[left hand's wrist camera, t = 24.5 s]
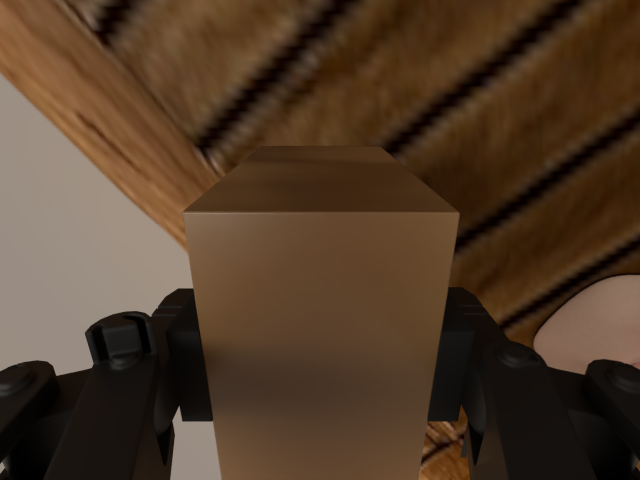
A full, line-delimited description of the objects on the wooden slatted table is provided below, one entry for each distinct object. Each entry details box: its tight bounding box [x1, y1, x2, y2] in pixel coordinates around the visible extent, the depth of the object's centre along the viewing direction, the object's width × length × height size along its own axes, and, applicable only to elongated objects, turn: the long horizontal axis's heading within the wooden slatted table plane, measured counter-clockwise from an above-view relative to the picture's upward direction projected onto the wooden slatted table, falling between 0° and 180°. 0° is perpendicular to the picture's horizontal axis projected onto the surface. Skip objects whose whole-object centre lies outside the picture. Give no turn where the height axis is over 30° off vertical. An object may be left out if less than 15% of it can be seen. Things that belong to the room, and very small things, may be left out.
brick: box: [183, 146, 460, 480], centre depth 13 cm, size 5×8×10 cm, turn 0°
